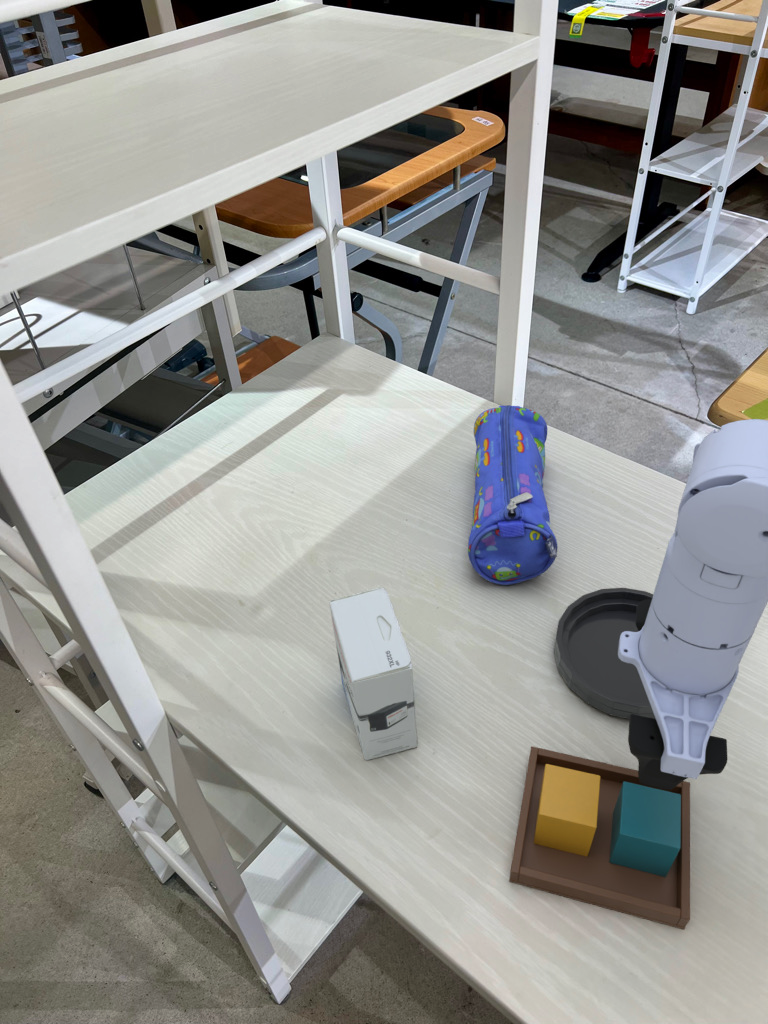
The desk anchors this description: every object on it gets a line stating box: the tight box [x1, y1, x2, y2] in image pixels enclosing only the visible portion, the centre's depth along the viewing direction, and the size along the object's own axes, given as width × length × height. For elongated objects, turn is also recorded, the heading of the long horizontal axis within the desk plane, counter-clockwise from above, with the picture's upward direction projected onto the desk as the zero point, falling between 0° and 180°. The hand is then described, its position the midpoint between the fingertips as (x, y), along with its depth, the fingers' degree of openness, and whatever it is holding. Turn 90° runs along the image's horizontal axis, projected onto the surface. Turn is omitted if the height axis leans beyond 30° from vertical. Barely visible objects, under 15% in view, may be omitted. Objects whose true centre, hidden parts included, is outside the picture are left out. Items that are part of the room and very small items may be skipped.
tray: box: [508, 746, 691, 930], centre depth 56 cm, size 12×10×2 cm
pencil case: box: [467, 404, 558, 586], centre depth 79 cm, size 22×9×10 cm, turn 174°
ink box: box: [328, 586, 419, 761], centre depth 62 cm, size 8×5×12 cm, turn 15°
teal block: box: [609, 781, 681, 877], centre depth 54 cm, size 4×4×5 cm
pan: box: [553, 587, 656, 720], centre depth 67 cm, size 13×13×2 cm
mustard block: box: [534, 764, 600, 857], centre depth 55 cm, size 4×4×5 cm
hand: (657, 732), depth 53 cm, fingers open, 7 cm apart
